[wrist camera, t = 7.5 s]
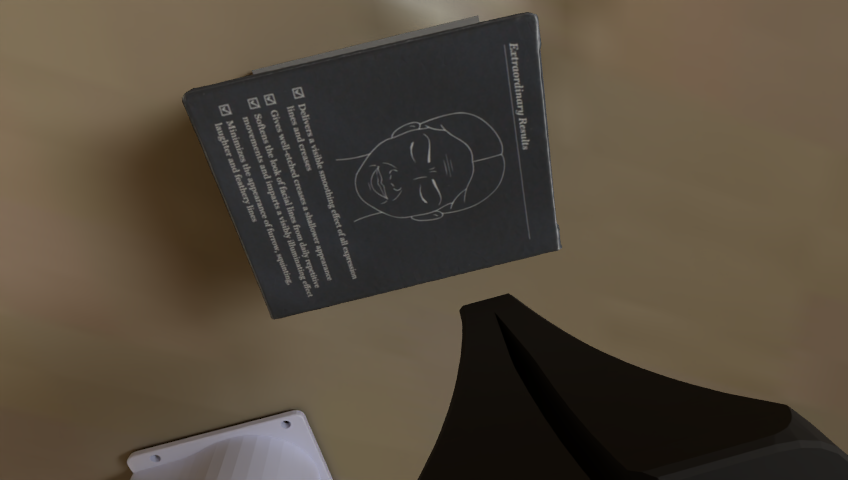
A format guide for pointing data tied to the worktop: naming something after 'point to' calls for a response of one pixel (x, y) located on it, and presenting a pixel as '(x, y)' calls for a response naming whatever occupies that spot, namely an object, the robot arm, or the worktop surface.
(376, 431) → the worktop surface
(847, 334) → the worktop surface
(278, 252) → the box
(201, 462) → the robot arm
